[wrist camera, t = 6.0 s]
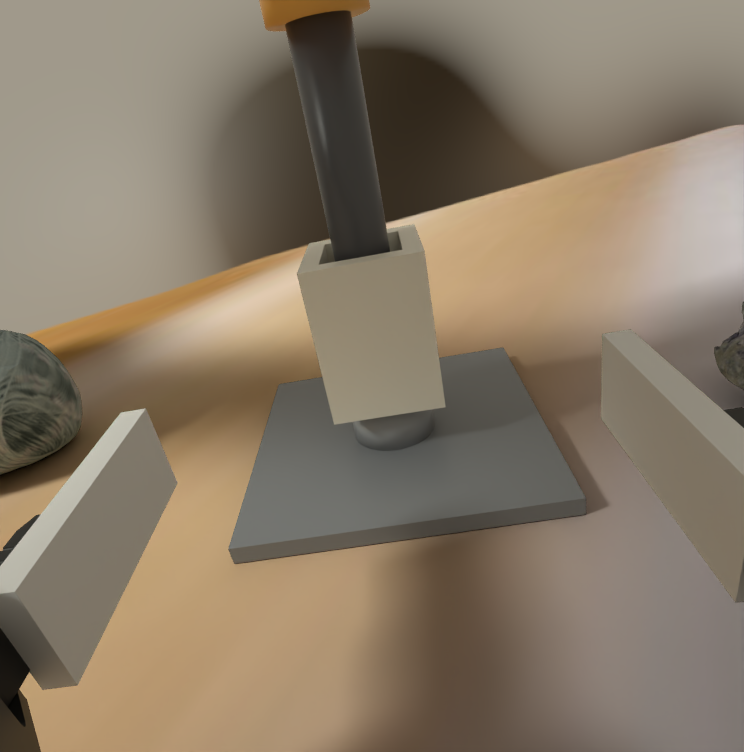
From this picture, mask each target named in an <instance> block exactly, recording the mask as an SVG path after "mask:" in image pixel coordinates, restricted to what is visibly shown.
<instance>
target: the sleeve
mask: <svg viewBox="0 0 744 752" xmlns="http://www.w3.org/2000/svg"><path fill="white" fill-rule="evenodd" d="M387 235H388V242H389V248H390V252H387V253H381V254H376V255H370V256H365V257H359V258H353V259H348V260H342V261H337V262H335V259H334V254H333V249H332V245H331V240H325V241H320V242H315V243H309V245H308V247H307V250H306V252H305V255H304V257H303V260H302V262H301V265H300V267H299V270H298V272H297V276H298V280H299V284H300V289H301V293H302V297H303V301H304V305H305V309H306V313H307V317H308V321H309V325H310V329H311V333H312V337H313V341H314V345H315V349H316V353H317V357H318V361H319V365H320V370H321V374H322V378H323V382H324V386H325V390H326V394H327V398H328V402H329V406H330V410H331V414H332V418H333V422H334V425H335V424H342V423H348V422H355V421H361V420H367V419H374V418H380V417H386V416H393V415H399V414H405V413H412V412H418V411H424V410H431V409H437V408H444V407H446V406H445V399H444V392H443V384H442V377H441V369H440V362H439V355H438V347H437V340H436V332H435V325H434V318H433V310H432V303H431V295H430V288H429V281H428V273H427V266H426V258H425V251H424V248H423V246H422V243H421V241H420V238H419V235H418V233H417V230H416V227H415V225H414V224H413V225H408V226H402V227H397V228H391V229H387Z"/></svg>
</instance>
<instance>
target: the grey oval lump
mask: <svg viewBox="0 0 744 752" xmlns="http://www.w3.org/2000/svg"><path fill="white" fill-rule="evenodd" d="M81 419H82V402H81V397H80V393H79V390H78V388H77V386H76V384H75V382H74V381H73V379H72V377H71V375H70V374H69V372H68V371H67V370H66V368H65V367H64V366H63V364H62V363H61V362H60V360H59V359H58V358H57V357H56V356H55V355H54V354H53V353H52V352H50V351H49V350H48V349H47V348H46V347H45V346H44V345H42V344H41V343H40V342H38V341H37V340H35V339H33V338H31V337H29V336H27V335H25V334H21V333H16V332H12V331H5V330H0V474H4V473H7V472H9V471H12V470H15V469H17V468H20V467H24V466H27V465H30V464H32V463H35V462H37V461H40V460H41V459H43V458H45V457H46V456H48V455H50V454H52V453H54V452H56V451H57V450H59V449H60V448H62V447H63V446H64V445H65V444H67V443H68V442H69V441H71V440H72V439H73V438H74V437H75V436H76V434H77V433H78V431H79V428H80V426H81Z"/></svg>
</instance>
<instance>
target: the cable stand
mask: <svg viewBox="0 0 744 752" xmlns="http://www.w3.org/2000/svg"><path fill="white" fill-rule="evenodd" d="M259 2H260V6H261V10H262V15H263V19H264V24H265V28H266V30H268V31H286V32H287V37H288V41H289V46H290V51H291V56H292V61H293V65H294V70H295V75H296V80H297V84H298V89H299V94H300V98H301V103H302V108H303V113H304V117H305V122H306V127H307V131H308V136H309V141H310V146H311V150H312V155H313V160H314V164H315V169H316V174H317V178H318V183H319V188H320V193H321V198H322V202H323V207H324V211H325V216H326V221H327V226H328V231H329V235H330V240H331V245H332V249H333V254H334V259H335V262H337V261H342V260H348V259H353V258H359V257H365V256H370V255H376V254H381V253H387V252H390V248H389V242H388V235H387V229H386V223H385V217H384V211H383V205H382V199H381V193H380V187H379V181H378V175H377V168H376V162H375V157H374V150H373V144H372V138H371V132H370V126H369V120H368V114H367V107H366V101H365V95H364V89H363V83H362V77H361V71H360V65H359V59H358V53H357V47H356V40H355V34H354V28H353V22H352V17H355V16H357V15H360V14H362V13H364V12H366V11H368V10H369V9H370V3H369V0H259ZM439 362H440V369H441V377H442V384H443V392H444V399H445V406H446V407H444V408H437V409H431V410H424V411H418V412H412V413H405V414H399V415H393V416H386V417H380V418H374V419H367V420H361V421H355V422H348V423H342V424H335V425H334V422H333V418H332V414H331V410H330V406H329V402H328V398H327V394H326V390H325V386H324V382H323V378H322V377H320V378H314V379H308V380H302V381H296V382H290V383H283V384H279V386H278V389H277V392H276V396H275V399H274V402H273V405H272V409H271V412H270V415H269V418H268V422H267V425H266V428H265V431H264V435H263V438H262V441H261V444H260V448H259V451H258V454H257V457H256V461H255V464H254V467H253V471H252V474H251V477H250V480H249V484H248V487H247V490H246V493H245V497H244V500H243V503H242V506H241V510H240V513H239V516H238V519H237V523H236V526H235V529H234V532H233V536H232V539H231V542H230V545H229V552H230V554H231V557H232V559H233V562H234V564H236V563H243V562H250V561H257V560H264V559H272V558H279V557H286V556H293V555H300V554H307V553H314V552H321V551H329V550H336V549H343V548H350V547H357V546H364V545H371V544H378V543H385V542H393V541H400V540H407V539H414V538H421V537H428V536H435V535H442V534H450V533H457V532H464V531H471V530H478V529H485V528H492V527H499V526H507V525H514V524H521V523H528V522H535V521H542V520H549V519H556V518H564V517H571V516H578V515H585V514H586V497H585V495H584V494H583V492H582V490H581V488H580V486H579V484H578V483H577V481H576V479H575V477H574V475H573V474H572V472H571V470H570V468H569V466H568V464H567V463H566V461H565V459H564V457H563V455H562V453H561V452H560V450H559V448H558V446H557V444H556V443H555V441H554V439H553V437H552V435H551V433H550V432H549V430H548V428H547V426H546V424H545V423H544V421H543V419H542V417H541V415H540V413H539V412H538V410H537V408H536V406H535V404H534V403H533V401H532V399H531V397H530V395H529V393H528V392H527V390H526V388H525V386H524V384H523V383H522V381H521V379H520V377H519V375H518V373H517V372H516V370H515V368H514V366H513V364H512V363H511V361H510V359H509V357H508V355H507V353H506V352H505V350H504V348H497V349H491V350H485V351H479V352H473V353H467V354H460V355H454V356H448V357H442V358H439Z"/></svg>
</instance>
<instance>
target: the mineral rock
mask: <svg viewBox="0 0 744 752" xmlns="http://www.w3.org/2000/svg"><path fill="white" fill-rule="evenodd" d="M742 314H743V319H744V302H743V304H742ZM714 354H715V358H716V362H717V365H718V367H719V369H720V371H721V373H722V374H723V375H724V376H725V377H726V378H727V379H728V381H730V382H731V383H733V384H734V385H736V386H738V387H740V388H742V389H744V321H743V323H742V325H741V327H740V329H739V331H738V332H737V333H735V334H733V335H732V336H731V337H729V338H728V339H726V340H725V341H723V343H722V344H721V346H720V347H715V348H714Z"/></svg>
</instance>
